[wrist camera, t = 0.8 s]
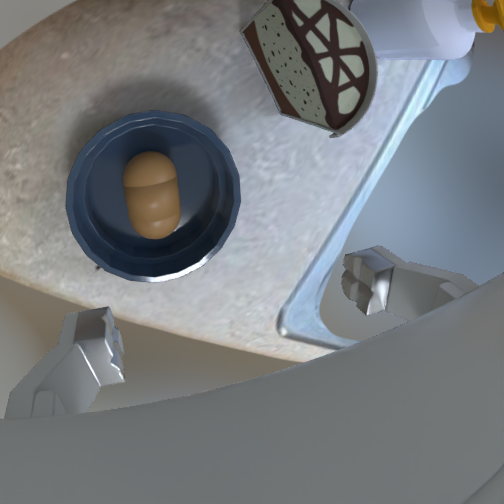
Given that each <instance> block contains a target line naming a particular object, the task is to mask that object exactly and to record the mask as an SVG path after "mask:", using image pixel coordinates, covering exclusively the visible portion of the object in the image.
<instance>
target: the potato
mask: <svg viewBox="0 0 504 504" xmlns="http://www.w3.org/2000/svg"><path fill="white" fill-rule="evenodd" d="M122 180H123V189H124V194H125V200H126V205H127V210H128V215H129V220H130V223H131V225H132V227H133V228H134V230H135V231H136V232H137V233H138V234H140V235H141V236H143V237H145V238H148V239H161V238H164V237H166V236H168V235H170V234H171V233H172V232H173V231H174V230H175V229H176V227H177V226H178V224H179V221H180V219H181V204H180V196H179V188H178V180H177V173H176V169H175V166H174V164H173V163H172V161H171V160H170V159H169V158H168V157H167V156H165V155H164V154H162V153H159V152H156V151H146V152H142V153H140V154H137V155H136V156H134V157H133V158H132V159H131V160H130V161H129V162H128V164H127V165H126V167H125V169H124V172H123V178H122Z"/></svg>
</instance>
